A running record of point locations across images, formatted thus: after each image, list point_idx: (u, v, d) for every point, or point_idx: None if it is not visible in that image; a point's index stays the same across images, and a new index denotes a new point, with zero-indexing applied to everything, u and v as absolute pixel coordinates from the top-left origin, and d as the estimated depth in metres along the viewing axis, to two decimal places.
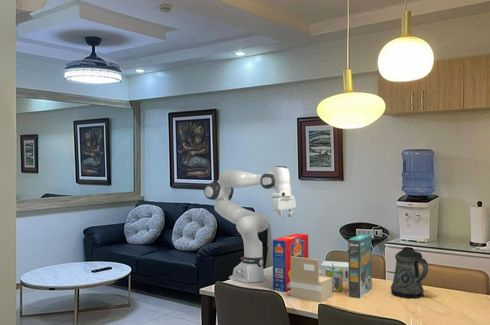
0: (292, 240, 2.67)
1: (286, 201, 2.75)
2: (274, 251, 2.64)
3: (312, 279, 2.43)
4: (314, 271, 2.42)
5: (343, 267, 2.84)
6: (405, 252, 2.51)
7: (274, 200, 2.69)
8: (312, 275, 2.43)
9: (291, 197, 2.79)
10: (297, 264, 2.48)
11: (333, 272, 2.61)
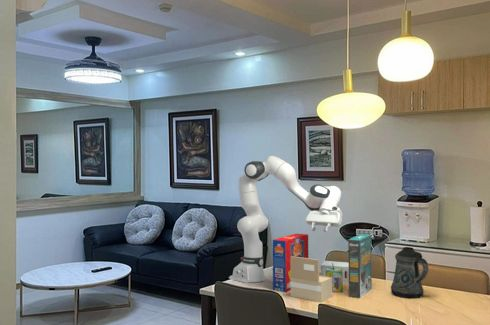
0: (292, 240, 2.67)
1: None
2: (274, 251, 2.64)
3: (312, 279, 2.43)
4: (314, 271, 2.42)
5: (342, 267, 2.84)
6: (405, 252, 2.51)
7: (340, 215, 2.60)
8: (312, 275, 2.43)
9: None
10: (297, 264, 2.48)
11: (333, 272, 2.61)
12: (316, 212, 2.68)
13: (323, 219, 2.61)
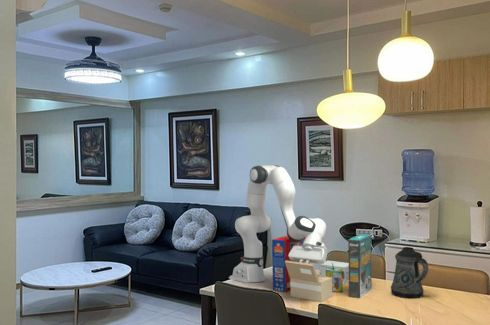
0: None
1: None
2: (273, 251, 2.65)
3: (311, 280, 2.43)
4: (312, 274, 2.40)
5: (340, 267, 2.83)
6: (405, 252, 2.51)
7: (325, 251, 2.44)
8: (311, 277, 2.42)
9: None
10: (293, 268, 2.45)
11: (333, 272, 2.61)
12: (299, 247, 2.52)
13: (307, 256, 2.45)
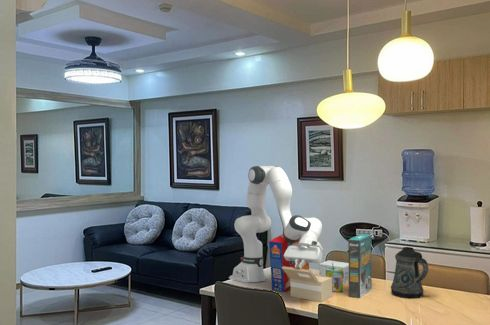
0: None
1: None
2: (271, 252, 2.62)
3: (311, 281, 2.43)
4: (311, 277, 2.39)
5: (339, 267, 2.83)
6: (405, 252, 2.51)
7: (320, 251, 2.40)
8: (310, 279, 2.41)
9: None
10: (291, 272, 2.44)
11: (333, 272, 2.61)
12: (295, 247, 2.48)
13: (302, 256, 2.41)
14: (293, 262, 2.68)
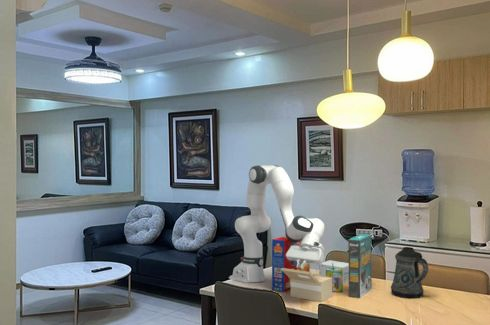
0: None
1: None
2: (273, 251, 2.65)
3: (311, 281, 2.43)
4: (310, 278, 2.39)
5: (338, 267, 2.83)
6: (405, 252, 2.51)
7: (322, 252, 2.43)
8: (310, 280, 2.41)
9: None
10: (291, 274, 2.43)
11: (333, 272, 2.61)
12: (297, 247, 2.51)
13: (304, 256, 2.44)
14: (294, 264, 2.69)
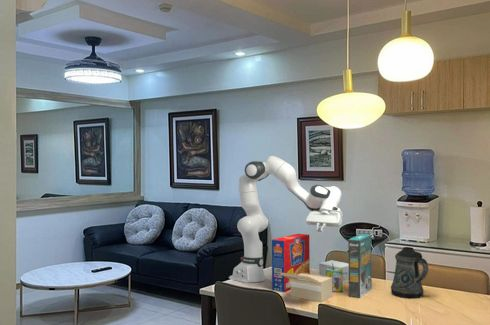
0: (291, 240, 2.67)
1: None
2: (273, 251, 2.65)
3: None
4: (310, 281, 2.39)
5: (336, 267, 2.83)
6: (405, 252, 2.51)
7: (340, 216, 2.60)
8: (310, 281, 2.41)
9: None
10: (290, 277, 2.43)
11: (333, 272, 2.61)
12: (316, 212, 2.68)
13: (323, 220, 2.61)
14: (294, 264, 2.69)
